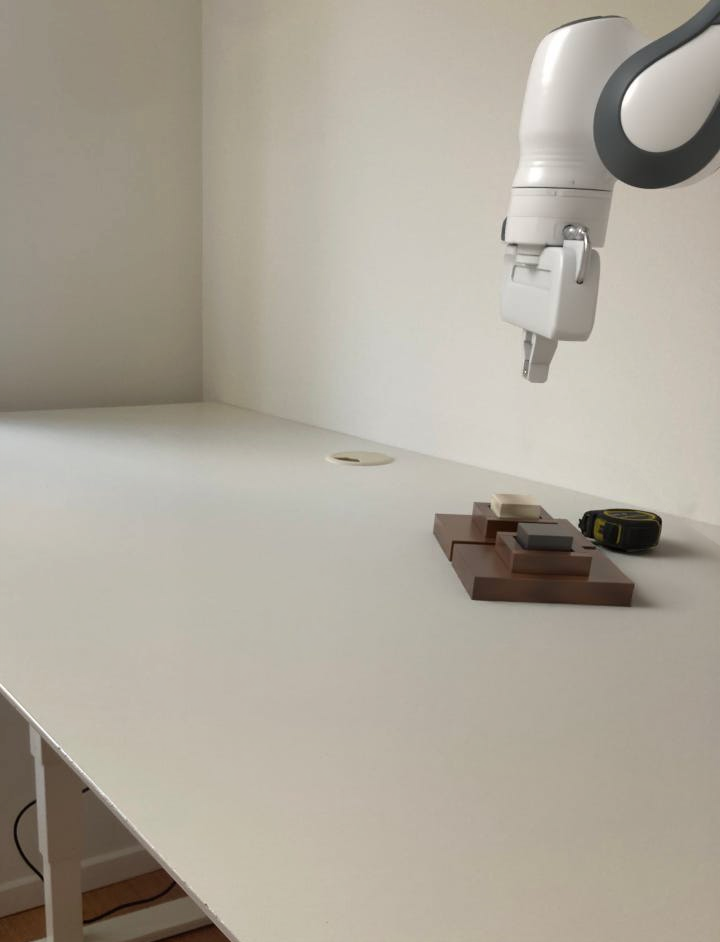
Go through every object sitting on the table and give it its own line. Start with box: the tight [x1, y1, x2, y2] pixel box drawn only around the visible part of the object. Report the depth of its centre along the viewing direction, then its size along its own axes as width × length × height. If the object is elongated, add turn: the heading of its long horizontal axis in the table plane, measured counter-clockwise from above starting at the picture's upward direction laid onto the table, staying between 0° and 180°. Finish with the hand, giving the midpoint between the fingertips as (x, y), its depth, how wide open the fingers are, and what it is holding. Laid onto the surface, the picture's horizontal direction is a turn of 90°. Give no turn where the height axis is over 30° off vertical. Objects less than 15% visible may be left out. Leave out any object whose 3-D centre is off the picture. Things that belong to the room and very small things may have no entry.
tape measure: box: [577, 508, 663, 553], centre depth 106 cm, size 7×7×4 cm
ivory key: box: [490, 493, 542, 519], centre depth 103 cm, size 4×4×2 cm
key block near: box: [451, 532, 636, 608], centre depth 94 cm, size 14×10×4 cm
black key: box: [516, 523, 573, 552], centre depth 93 cm, size 4×4×2 cm
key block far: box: [432, 501, 597, 563], centre depth 104 cm, size 14×10×4 cm
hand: (533, 380), depth 98 cm, fingers closed
